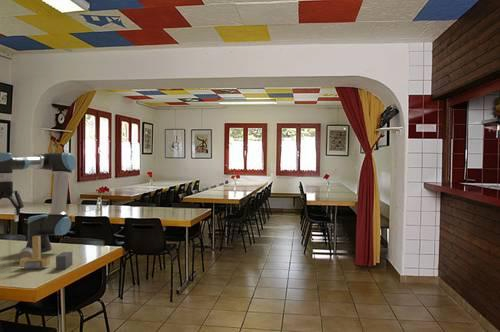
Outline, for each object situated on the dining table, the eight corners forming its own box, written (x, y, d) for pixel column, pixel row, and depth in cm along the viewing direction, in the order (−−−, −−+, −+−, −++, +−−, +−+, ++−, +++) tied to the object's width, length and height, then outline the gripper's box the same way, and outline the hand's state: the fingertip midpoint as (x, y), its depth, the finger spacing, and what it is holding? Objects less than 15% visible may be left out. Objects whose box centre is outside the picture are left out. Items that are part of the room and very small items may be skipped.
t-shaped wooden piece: (23, 265, 214) (22, 236, 214) (49, 264, 215) (49, 235, 215) (19, 267, 210) (19, 237, 210) (46, 266, 211) (46, 236, 211)
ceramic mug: (18, 264, 222) (18, 250, 221) (19, 260, 229) (19, 247, 229) (39, 262, 226) (39, 248, 226) (40, 258, 233) (40, 246, 233)
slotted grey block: (63, 264, 219) (63, 252, 219) (72, 264, 219) (72, 251, 219) (56, 269, 209) (55, 256, 209) (65, 269, 209) (65, 256, 209)
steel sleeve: (30, 266, 216) (30, 259, 216) (45, 266, 216) (45, 258, 216) (24, 270, 209) (24, 262, 209) (39, 269, 209) (39, 262, 209)
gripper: (-23, 181, 205) (-22, 223, 206) (23, 181, 208) (24, 222, 208) (-15, 181, 213) (-14, 221, 213) (30, 180, 215) (31, 219, 216)
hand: (5, 221), depth 211 cm, fingers open, 11 cm apart
